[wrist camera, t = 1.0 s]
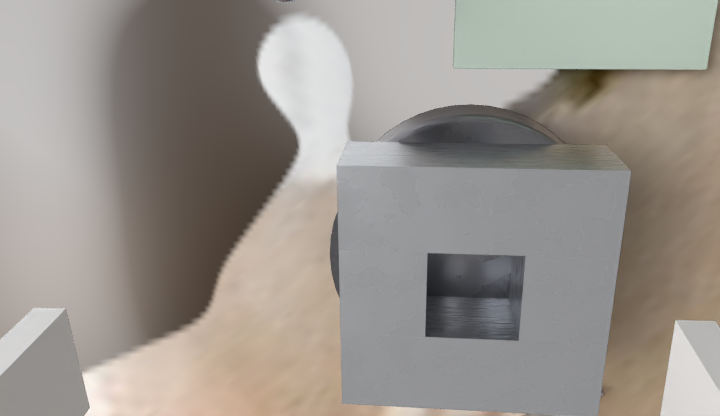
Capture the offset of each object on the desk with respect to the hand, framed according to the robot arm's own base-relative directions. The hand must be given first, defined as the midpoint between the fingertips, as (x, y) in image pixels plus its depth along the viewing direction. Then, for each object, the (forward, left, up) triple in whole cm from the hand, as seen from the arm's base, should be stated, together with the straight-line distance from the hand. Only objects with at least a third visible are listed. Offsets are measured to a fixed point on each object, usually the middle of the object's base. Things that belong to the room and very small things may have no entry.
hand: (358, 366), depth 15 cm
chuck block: (+6, +4, -22) cm, 23 cm away
